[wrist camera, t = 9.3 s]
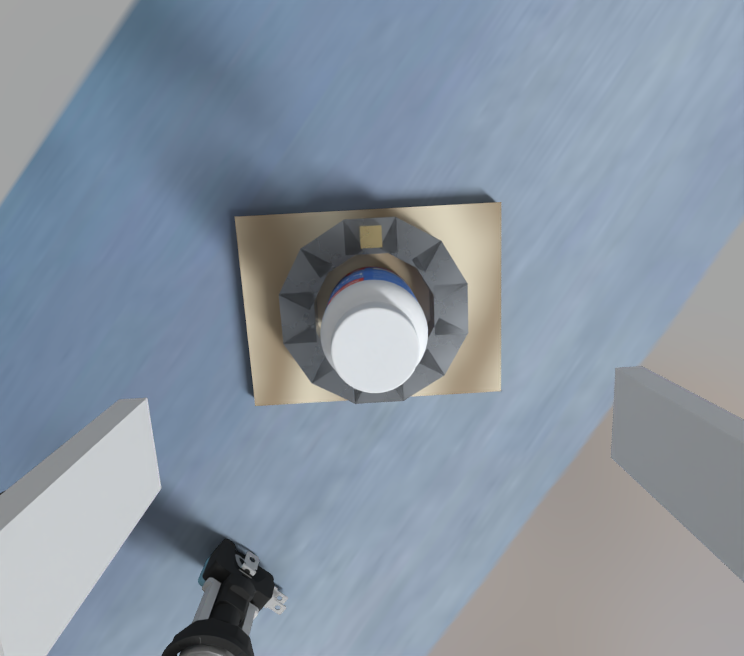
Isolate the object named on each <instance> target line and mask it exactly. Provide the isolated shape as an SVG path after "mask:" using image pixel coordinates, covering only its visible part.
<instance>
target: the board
mask: <svg viewBox="0 0 744 656" xmlns="http://www.w3.org/2000/svg"><path fill="white" fill-rule="evenodd" d="M393 216H394V217H397V218H399V219H401V220H403V221H405V222H406V223H408V224H410V225H412V226H414V227H416V228H418V229H420V230H422V231H424V232H426V233H428V234H429V235H431V236H433V237H435V238H437V239H439V240H441V241H442V242H443V244H444V246H445V247H446V249H447V251H448V252H449V254H450V256H451V257H452V259H453V260H454V262H455V264H456V265H457V267H458V269H459V270H460V272H461V274H462V275H463V277H464V278H465V280H466V282H467V283H468V332H469V333H468V334H467V336H466V338H465V340H464V342H463V343H462V345H461V347H460V349H459V351H458V352H457V354H456V356H455V358H454V359H453V361H452V363H451V365H450V367H449V368H448V370H447V372H446V374H445V376H443V377H441V378H440V379H438V380H436V381H435V382H433V383H431V384H430V385H428V386H427V387H425V388H423V389H422V390H420V391H419V392H417V393H415V394H414V395H412V396H428V395H444V394H461V393H477V392H494V391H501V202H495V203H476V204H458V205H440V206H422V207H403V208H385V209H367V210H348V211H330V212H312V213H294V214H275V215H257V216H239V217H235V225H236V234H237V243H238V252H239V261H240V271H241V280H242V289H243V298H244V307H245V316H246V325H247V335H248V344H249V353H250V362H251V371H252V380H253V389H254V398H255V406H263V405H279V404H296V403H312V402H329V401H345V400H346V399H344V398H342V397H340V396H338V395H336V394H333V393H331V392H329V391H327V390H325V389H323V388H321V387H319V386H316V385H314V384H312V383H311V382H310V380H309V379H308V378H307V376H306V375H305V373H304V372H303V371H302V369H301V368H300V366H299V365H298V364H297V362H296V361H295V359H294V358H293V357H292V355H291V354H290V352H289V351H288V350H287V348H286V347H285V345H284V344H283V335H282V325H281V314H280V303H279V293H280V291H281V289H282V286H283V284H284V282H285V280H286V278H287V276H288V274H289V272H290V270H291V268H292V265H293V263H294V261H295V259H296V257H297V255H298V253H299V251H300V249H301V248H302V247H303V246H305V245H307V244H308V243H310V242H311V241H313V240H314V239H316V238H317V237H319V236H320V235H322V234H323V233H325V232H326V231H328V230H329V229H331V228H332V227H334V226H335V225H337V224H338V223H340V222H341V221H343V220H344V219H358V218H377V217H393ZM369 266H375V267H382V268H386V269H388V270H391V271H393V272H395V273H396V274H398V275H399V276H400V277H401V278H402V279H403V280H404V281H405V282H406V283H407V284H408V285H409V287H410V289H411V290H412V292H413V294H414V296H415V297H416V299H417V301H418V303H419V304H420V306H421V308H422V310H423V312H424V315H425V318H426V321H427V324H428V322H429V320H430V303H429V289H428V287H427V286H426V284H425V282H424V281H423V279H422V278H421V276H420V275H419V273H418V271H417V270H416V268H415V267H414V266H412V265H410V264H408V263H406V262H404V261H402V260H400V259H398V258H397V257H395V256H393V255H391V254H389V253H381V254H363V255H354V256H353V257H351V258H350V259H348V260H347V261H345V262H344V263H342V264H341V265H339V266H338V267H336V268H335V269H333V270H332V271H330V272H329V273H328V274H327V276H326V278H325V280H324V282H323V284H322V286H321V288H320V290H319V292H318V294H317V308H318V321H319V327H320V328H321V323H322V319H323V315H324V312H325V310H326V307H327V304H328V301H329V298H330V295H331V293H332V291H333V289H334V287H335V286H336V284H337V283H338V282H339V281H340V280H341V279H342V278H343V277H344V276H345V275H347V274H348V273H350V272H352V271H354V270H356V269H359V268H362V267H369Z"/></svg>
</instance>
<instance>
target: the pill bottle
mask: <svg viewBox="0 0 744 656" xmlns="http://www.w3.org/2000/svg"><path fill="white" fill-rule="evenodd" d="M320 336H321V345H322V348H323V352H324V354H325V356H326V358H327V360H328V362H329V363H330V365H331V366H332V367H333V369H334V370H335V371H336V372H337V373H338V375H339V376H340V377H341V378H342V379H343V380H344V381H345V382H346V383H347V384H348V385H350V386H351V387H353V388H355V389H357V390H360V391H363V392H368V393H382V392H387V391H390V390H393V389H395V388H397V387H399V386H400V385H402V384H403V383H404V382H405V381H406V380H407V379H408V378H409V377H410V376H411V375H412V373H413V372H414V370H415V368H416V366H417V365H418V364H419V362H420V360H421V359H422V357H423V355H424V352H425V350H426V346H427V341H428V326H427V321H426V318H425V315H424V312H423V310H422V308H421V306H420V304H419V303H418V301H417V299H416V297H415V296H414V294H413V292H412V290H411V289H410V287H409V285H408V284H407V283H406V282H405V281H404V280H403V279H402V278H401V277H400V276H399V275H398V274H396V273H395V272H393V271H391V270H388V269H386V268H382V267H375V266H369V267H362V268H359V269H356V270H354V271H352V272H350V273H348V274H347V275H345V276H344V277H343V278H342V279H341V280H340V281H339V282H338V283H337V284H336V286H335V287H334V289H333V291H332V293H331V295H330V298H329V301H328V304H327V307H326V310H325V312H324V315H323V319H322V323H321V331H320Z"/></svg>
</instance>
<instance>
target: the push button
mask: <svg viewBox="0 0 744 656" xmlns="http://www.w3.org/2000/svg"><path fill="white" fill-rule="evenodd" d="M235 548H236V547H235V544H234V543H233V542H231V541H230V540H228V539H224V540H223V542H222V543H221V544H220V545H219V546H218V547H217V549H216V550H215V551H214V552H213V553H212V554H211V556H210V557H209V558H208V559H207V560H206V562H205V565H204V567H203V570H202V572H201V574H200V577H199V579H198V583H199V584H200V585H201V586H202V590H203V591H204V594H203V597H202V599H201V602H200V604H199V607H198V609H197V612H196V614H195V617H194V619H193V622H192V624H190V625H189V626H188V627H186V628H185V629H184V630H182V631H181V632H179V633H178V634H177V635H175V637H174V639H173V641H172V642H171V643H170V644H169V645H168V646H167V647H166V649H165V650H164V652H163V654H162V656H177V654H178V653H179V652H180V651H181V652H180V655H179V656H254V653H253V649H252V644H251V640H250V637H249V634H250V630H251V626H252V622H253V620H254V619H255V617H256V616H257V615H258V612H259V611H260V610H261V609H262V608H263V607H265V608H267V607H268V608H270V609H271V610H273V611H274V612H276V613H277V614H279V615H280V614H281V613H282V612H283V611H284V610H285V609H286V606H285V605H283V604H284V603H285V602H286V600H287V599H288V597H287V596H285V595H284V594H282V593H281V592H279V591H278V590H277V589H278V588H277V587H275V585H274V582H273V580H274V578H273V576H272V575H271V574H270V573H268V572H267V571H265V570H264V569H262V568H261V567H259V566H258V564H259V561H260V560H259V558H258V557H257V556H256V555H254V554H253V553H251V552H247V553H246V556H243V555H242V554H240V553H239V552H238V551H236V550H235ZM250 557H252V558H253V559H254V560H255V562H252V561H251V560H250ZM278 596H281V597H282V600H278V599H277V597H278ZM276 605H279V606H280V607H281V608H280V609H276V608H275V606H276Z"/></svg>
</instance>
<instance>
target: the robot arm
mask: <svg viewBox="0 0 744 656" xmlns="http://www.w3.org/2000/svg"><path fill="white" fill-rule="evenodd" d="M612 427H613V428H612V446H611V458H612V459H613V460H614V461H615V462H616V463H617V464H618V465H619V466H621V467H622V468H623V469H624V470H625V471H626V472H627V473H628V474H629V475H630V476H631V477H632V478H633V479H634V480H636V481H637V482H638V483H639V484H640V485H641V486H642V487H643V488H644V489H645V490H646V491H647V492H648V493H650V495H651V496H652V497H654V498H655V499H656V500H657V501H658V502H659V503H660V504H661V505H662V506H663V507H664V508H665V509H666V510H667V511H668V512H670V513H671V514H672V515H673V516H674V517H675V518H676V519H677V520H678V521H679V522H680V523H681V524H682V525H683V526H684V527H686V528H687V529H688V530H689V531H690V532H691V533H692V534H693V535H694V536H695V537H696V538H697V539H698V540H699V541H701V543H702V544H704V545H705V546H706V547H707V548H708V549H709V550H710V551H711V552H712V553H713V554H714V555H715V556H716V557H717V558H718V559H720V560H721V561H722V562H723V563H724V564H725V565H726V566H727V567H728V568H729V569H730V570H731V571H732V572H733V573H734V574H735V575H737V576H738V577H739V578H740V579H741V580H742V581H743V582H744V419H742V418H740V417H738V416H736V415H734V414H732V413H730V412H729V411H727V410H725V409H723V408H721V407H719V406H717V405H715V404H713V403H711V402H709V401H707V400H706V399H704V398H702V397H700V396H698V395H696V394H694V393H692V392H690V391H689V390H687V389H685V388H683V387H681V386H679V385H677V384H675V383H673V382H671V381H669V380H668V379H665V378H664V377H662V376H660V375H658V374H656V373H654V372H652V371H650V370H648V369H647V368H645V367H643V366H636V367H620V368H615V388H614V407H613V426H612ZM160 490H161V483H160V477H159V470H158V464H157V457H156V451H155V445H154V438H153V432H152V426H151V419H150V413H149V406H148V400H147V398H135V399H120V400H118V401H117V402H115V403H114V404H113V405H112V406H110V407H109V408H108V409H107V410H105V411H104V412H103V413H102V414H100V415H99V416H98V417H97V418H96V419H94V420H93V421H92V422H91V423H89V424H88V425H87V426H86V427H84V428H83V429H82V430H81V431H79V432H78V433H77V434H76V435H74V436H73V437H72V438H71V439H69V440H68V441H67V442H66V443H64V444H63V445H62V446H61V447H59V448H58V449H57V450H56V451H55V452H53V453H52V454H51V455H50V456H48V457H47V458H46V459H45V460H43V461H42V462H41V463H40V464H38V465H37V466H36V467H35V468H33V469H32V470H31V471H30V472H28V473H27V474H26V475H25V476H23V477H22V478H21V479H20V480H18V481H17V482H16V483H15V484H14V485H12V486H11V487H10V488H9V489H7V490H6V491H4V492H2V493H0V656H46V655H47V654H48V652H49V651H50V649H51V648H52V646H53V645H54V644H55V642H56V641H57V639H58V638H59V636H60V635H61V633H62V632H63V630H64V629H65V628H66V626H67V625H68V623H69V622H70V620H71V619H72V617H73V616H74V615H75V613H76V612H77V610H78V609H79V607H80V606H81V604H82V603H83V601H84V600H85V599H86V597H87V596H88V594H89V593H90V591H91V590H92V588H93V587H94V585H95V584H96V583H97V581H98V580H99V578H100V577H101V575H102V574H103V572H104V571H105V569H106V568H107V567H108V565H109V564H110V562H111V561H112V559H113V558H114V556H115V555H116V553H117V552H118V551H119V549H120V548H121V546H122V545H123V543H124V542H125V540H126V539H127V538H128V536H129V535H130V533H131V532H132V530H133V529H134V527H135V526H136V524H137V523H138V522H139V520H140V519H141V517H142V516H143V514H144V513H145V511H146V510H147V508H148V507H149V506H150V504H151V503H152V501H153V500H154V498H155V497H156V495H157V494H158V492H159V491H160Z"/></svg>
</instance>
